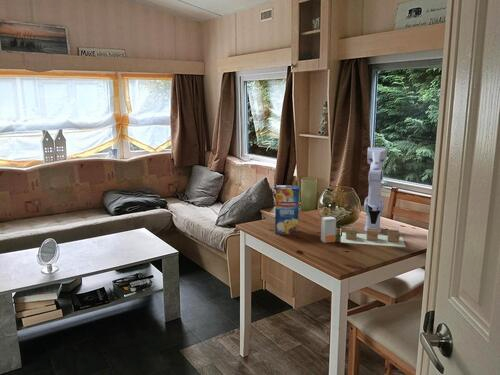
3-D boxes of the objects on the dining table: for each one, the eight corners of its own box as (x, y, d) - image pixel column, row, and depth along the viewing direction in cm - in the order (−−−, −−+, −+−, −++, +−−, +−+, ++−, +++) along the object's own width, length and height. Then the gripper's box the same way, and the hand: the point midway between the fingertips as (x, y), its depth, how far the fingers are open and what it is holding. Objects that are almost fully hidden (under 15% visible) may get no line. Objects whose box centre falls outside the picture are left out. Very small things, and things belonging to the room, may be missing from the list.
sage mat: (341, 233, 225) (341, 232, 225) (402, 237, 219) (402, 236, 219) (340, 243, 210) (340, 242, 210) (405, 247, 204) (405, 246, 203)
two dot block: (346, 236, 220) (346, 226, 219) (356, 236, 218) (356, 226, 217) (345, 239, 215) (346, 229, 214) (356, 239, 214) (356, 229, 212)
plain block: (366, 237, 217) (367, 227, 216) (376, 238, 216) (377, 228, 215) (366, 240, 213) (367, 230, 212) (377, 241, 211) (378, 231, 210)
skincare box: (324, 243, 210) (324, 219, 207) (320, 240, 214) (321, 217, 211) (335, 242, 211) (336, 218, 209) (331, 239, 215) (332, 216, 213)
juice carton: (298, 229, 231) (299, 185, 226) (298, 234, 224) (299, 188, 219) (275, 229, 232) (276, 185, 227) (274, 233, 225) (275, 188, 220)
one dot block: (387, 238, 215) (388, 228, 214) (397, 239, 214) (398, 229, 213) (388, 242, 210) (388, 231, 209) (399, 242, 209) (399, 232, 208)
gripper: (365, 191, 218) (364, 217, 220) (366, 197, 204) (364, 225, 206) (380, 191, 216) (378, 218, 219) (382, 198, 202) (380, 226, 205)
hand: (372, 221), depth 212 cm, fingers open, 7 cm apart
